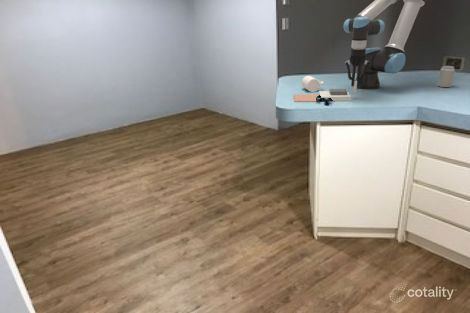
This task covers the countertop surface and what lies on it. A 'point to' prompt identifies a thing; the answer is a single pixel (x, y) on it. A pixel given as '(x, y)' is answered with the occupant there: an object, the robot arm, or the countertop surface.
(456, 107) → the countertop surface
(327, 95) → the deck
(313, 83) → the mug
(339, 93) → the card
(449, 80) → the can
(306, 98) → the mat
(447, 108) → the countertop surface
